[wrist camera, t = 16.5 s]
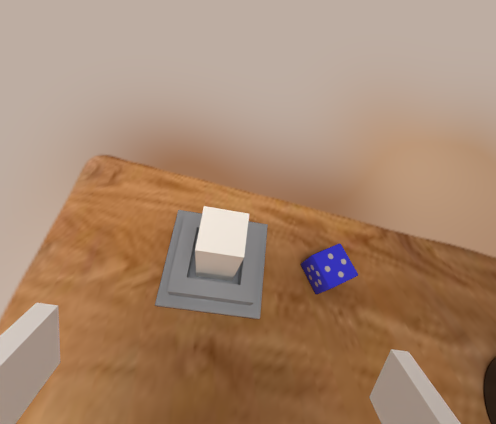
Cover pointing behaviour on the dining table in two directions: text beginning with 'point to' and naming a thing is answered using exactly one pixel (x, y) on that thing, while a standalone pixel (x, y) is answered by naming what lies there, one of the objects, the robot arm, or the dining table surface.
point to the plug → (220, 243)
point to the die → (328, 268)
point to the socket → (208, 289)
